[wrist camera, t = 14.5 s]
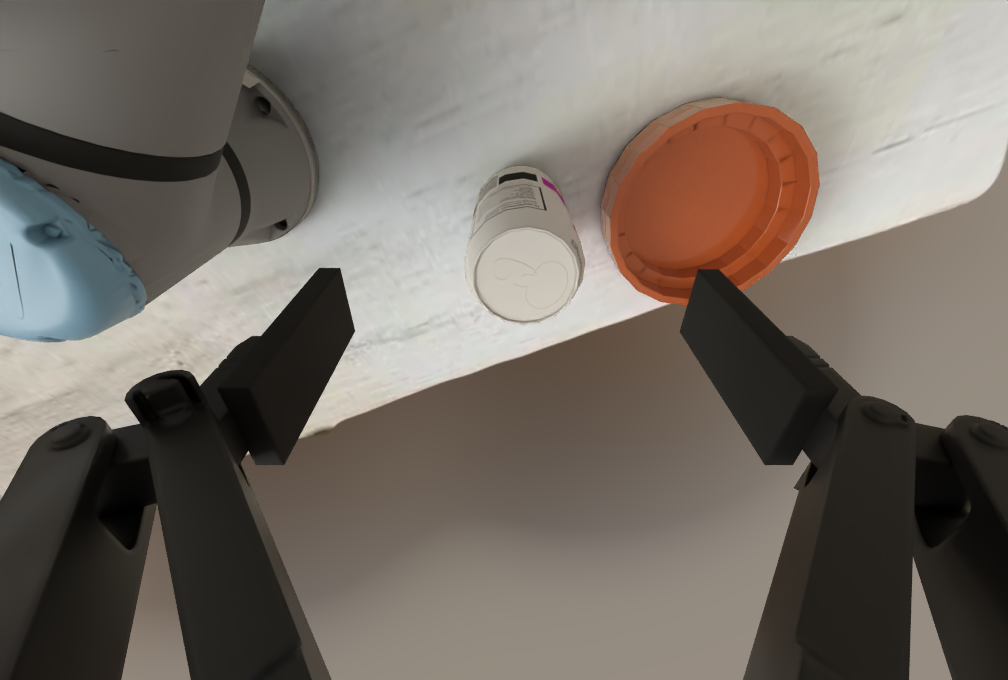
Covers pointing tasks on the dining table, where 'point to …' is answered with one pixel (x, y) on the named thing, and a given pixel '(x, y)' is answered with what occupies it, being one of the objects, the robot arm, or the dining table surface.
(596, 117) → the dining table surface
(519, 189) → the supplement can
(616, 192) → the bowl
